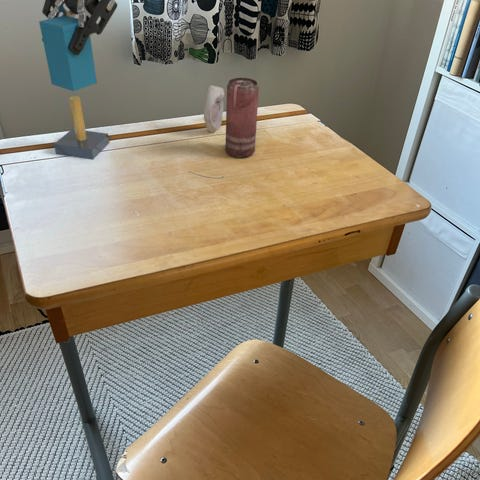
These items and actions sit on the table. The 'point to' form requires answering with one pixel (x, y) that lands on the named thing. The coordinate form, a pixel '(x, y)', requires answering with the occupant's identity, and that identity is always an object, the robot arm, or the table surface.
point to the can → (241, 117)
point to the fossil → (213, 108)
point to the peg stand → (80, 136)
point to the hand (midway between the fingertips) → (60, 48)
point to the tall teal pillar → (67, 55)
